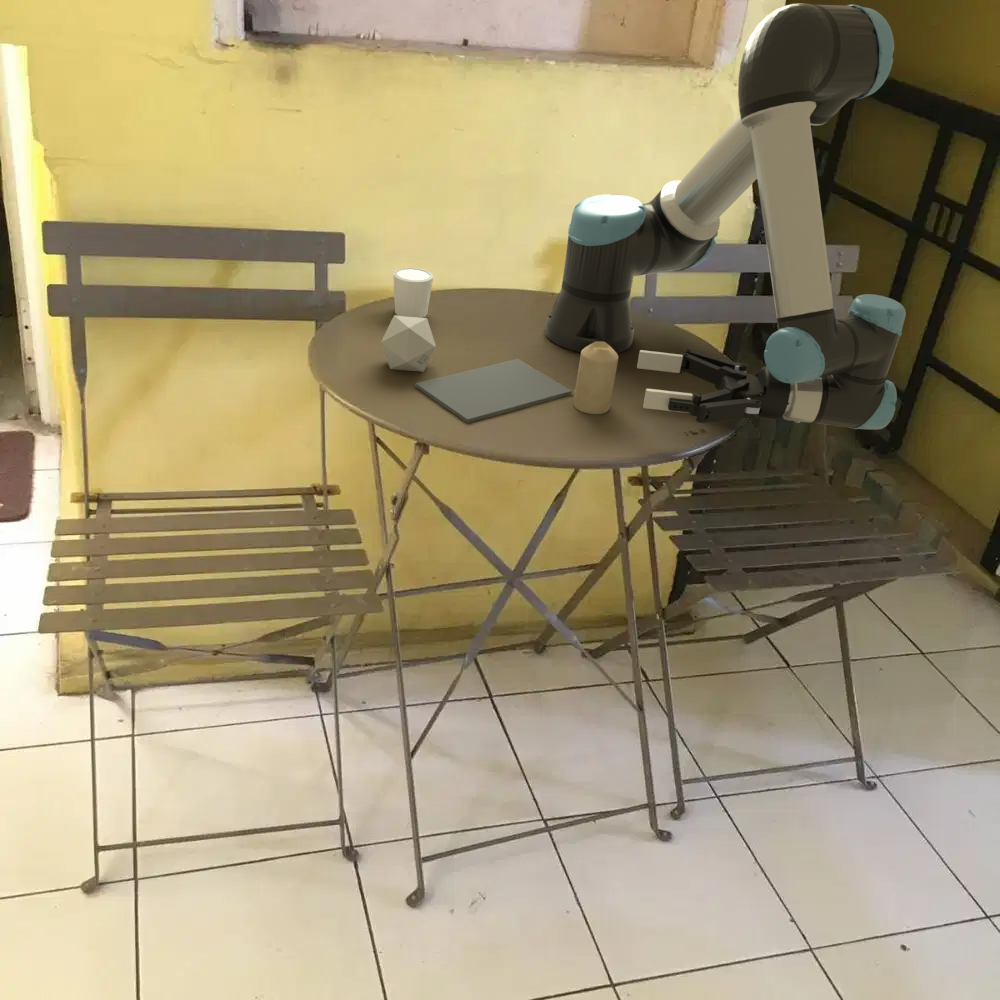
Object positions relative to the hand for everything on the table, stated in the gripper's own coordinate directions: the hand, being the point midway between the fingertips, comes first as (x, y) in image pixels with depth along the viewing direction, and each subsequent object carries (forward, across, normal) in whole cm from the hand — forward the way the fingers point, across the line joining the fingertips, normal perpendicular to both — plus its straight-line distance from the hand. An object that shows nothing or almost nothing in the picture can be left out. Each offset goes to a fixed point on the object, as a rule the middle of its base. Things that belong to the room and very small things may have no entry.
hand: (641, 377), depth 149 cm
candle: (+7, +1, -6) cm, 9 cm away
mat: (+21, +2, -6) cm, 22 cm away
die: (+35, +7, -6) cm, 36 cm away
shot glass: (+37, +29, -6) cm, 48 cm away
